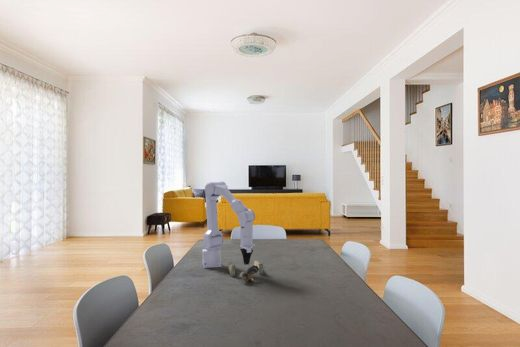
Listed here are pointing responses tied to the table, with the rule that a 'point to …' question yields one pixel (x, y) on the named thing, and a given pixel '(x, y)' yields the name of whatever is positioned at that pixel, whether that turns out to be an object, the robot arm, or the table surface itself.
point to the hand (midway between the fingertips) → (246, 264)
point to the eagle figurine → (249, 273)
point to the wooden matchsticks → (256, 263)
